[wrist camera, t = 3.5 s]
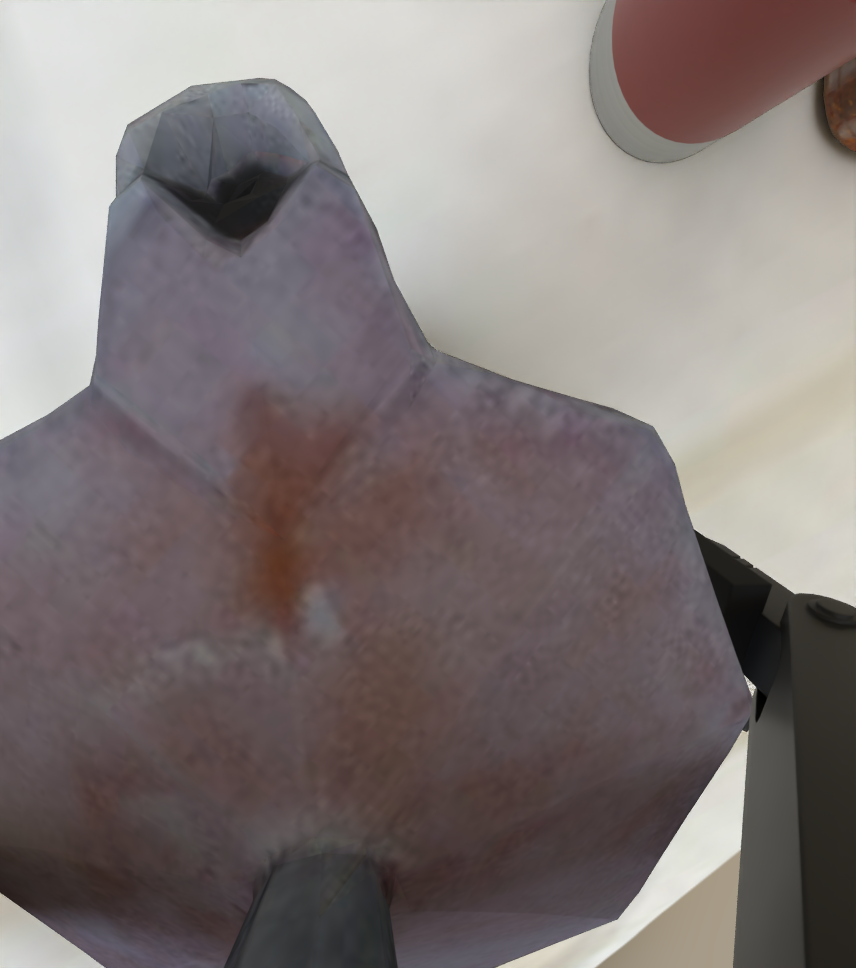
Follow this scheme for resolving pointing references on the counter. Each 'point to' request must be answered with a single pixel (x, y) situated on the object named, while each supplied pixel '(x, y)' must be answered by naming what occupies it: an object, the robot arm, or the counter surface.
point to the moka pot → (331, 601)
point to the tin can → (708, 66)
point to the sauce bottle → (842, 103)
